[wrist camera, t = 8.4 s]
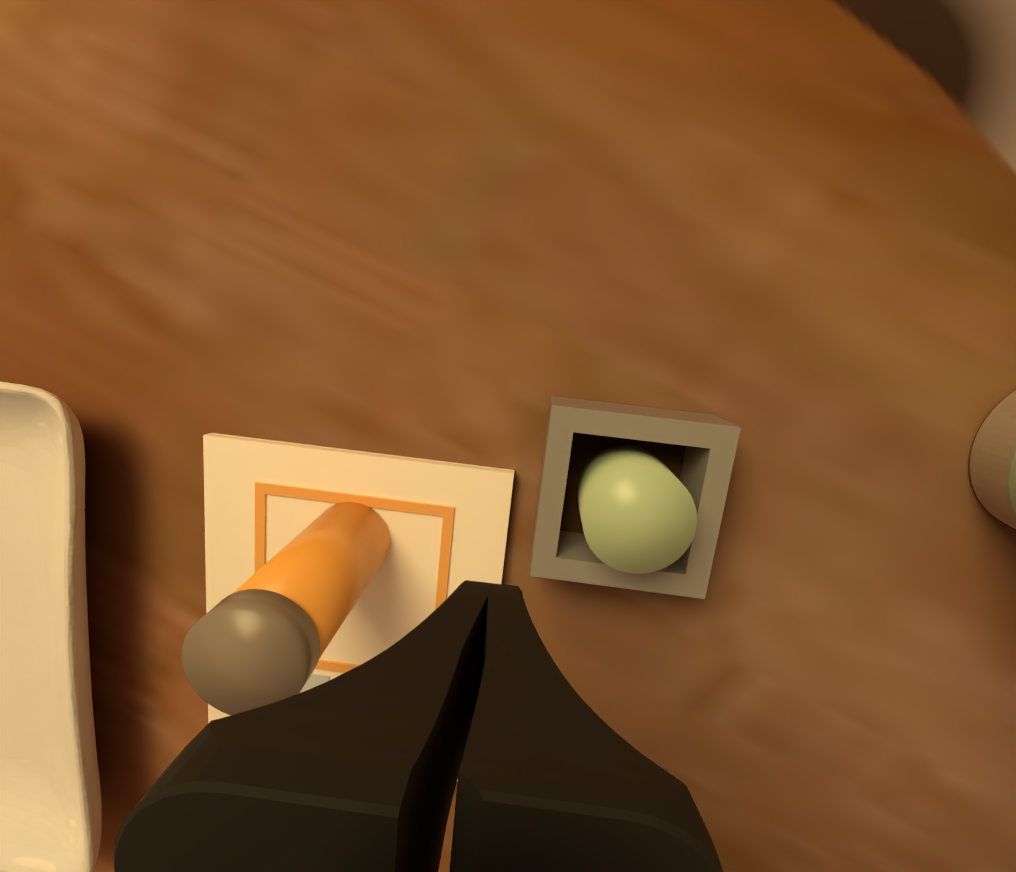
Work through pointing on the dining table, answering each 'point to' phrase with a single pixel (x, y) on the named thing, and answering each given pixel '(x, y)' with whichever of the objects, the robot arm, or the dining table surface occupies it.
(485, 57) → the dining table surface
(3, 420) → the salad plate
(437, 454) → the dining table surface
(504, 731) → the robot arm
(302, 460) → the sheet
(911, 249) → the dining table surface
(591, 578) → the button housing
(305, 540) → the marker
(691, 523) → the button
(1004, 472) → the coffee cup
